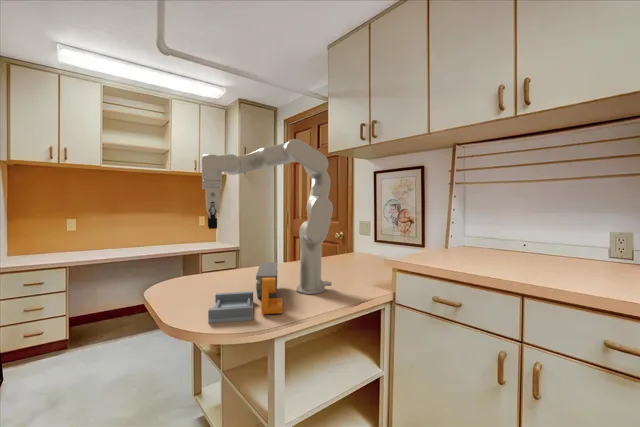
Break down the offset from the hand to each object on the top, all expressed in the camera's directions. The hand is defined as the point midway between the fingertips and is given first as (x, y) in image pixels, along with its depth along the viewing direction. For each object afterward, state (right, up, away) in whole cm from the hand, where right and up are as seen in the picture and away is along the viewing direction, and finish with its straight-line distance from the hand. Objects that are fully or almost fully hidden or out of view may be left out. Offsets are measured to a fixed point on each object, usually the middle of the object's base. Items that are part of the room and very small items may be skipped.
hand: (212, 227), depth 119 cm
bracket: (+26, -30, -12) cm, 42 cm away
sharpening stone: (+21, -29, +8) cm, 37 cm away
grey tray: (+13, -30, -14) cm, 35 cm away
